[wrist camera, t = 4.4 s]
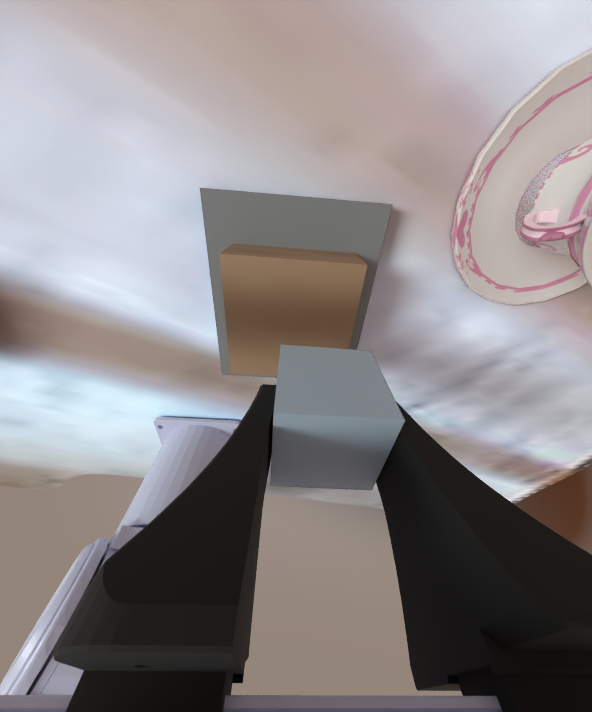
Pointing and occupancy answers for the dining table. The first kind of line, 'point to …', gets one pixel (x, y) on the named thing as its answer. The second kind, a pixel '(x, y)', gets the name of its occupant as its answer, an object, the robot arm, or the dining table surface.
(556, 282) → the teacup
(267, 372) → the walnut slab
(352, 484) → the gray cube
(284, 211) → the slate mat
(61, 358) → the dining table surface
